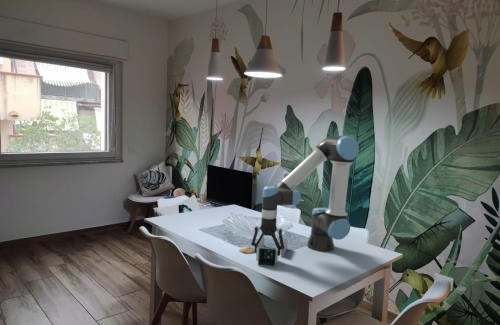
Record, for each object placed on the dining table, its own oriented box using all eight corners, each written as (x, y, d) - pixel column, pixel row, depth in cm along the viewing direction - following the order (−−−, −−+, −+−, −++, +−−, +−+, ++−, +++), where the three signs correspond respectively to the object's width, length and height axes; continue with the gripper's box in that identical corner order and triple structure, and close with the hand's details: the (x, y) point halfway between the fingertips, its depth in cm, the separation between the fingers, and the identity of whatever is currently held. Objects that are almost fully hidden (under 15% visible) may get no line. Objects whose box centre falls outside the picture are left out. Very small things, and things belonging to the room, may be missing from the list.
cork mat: (257, 249, 199) (257, 248, 198) (253, 254, 190) (253, 253, 190) (241, 247, 201) (241, 246, 201) (236, 252, 192) (237, 251, 192)
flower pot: (276, 263, 182) (275, 267, 173) (259, 262, 184) (257, 265, 175) (277, 246, 183) (276, 248, 174) (260, 244, 184) (258, 247, 175)
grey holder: (287, 248, 201) (287, 240, 200) (283, 257, 187) (283, 248, 187) (262, 245, 204) (262, 237, 204) (256, 254, 191) (256, 244, 190)
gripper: (291, 217, 181) (289, 260, 183) (249, 213, 186) (248, 255, 189) (289, 221, 174) (287, 266, 176) (246, 216, 179) (244, 260, 181)
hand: (267, 260), depth 182 cm, fingers open, 9 cm apart
